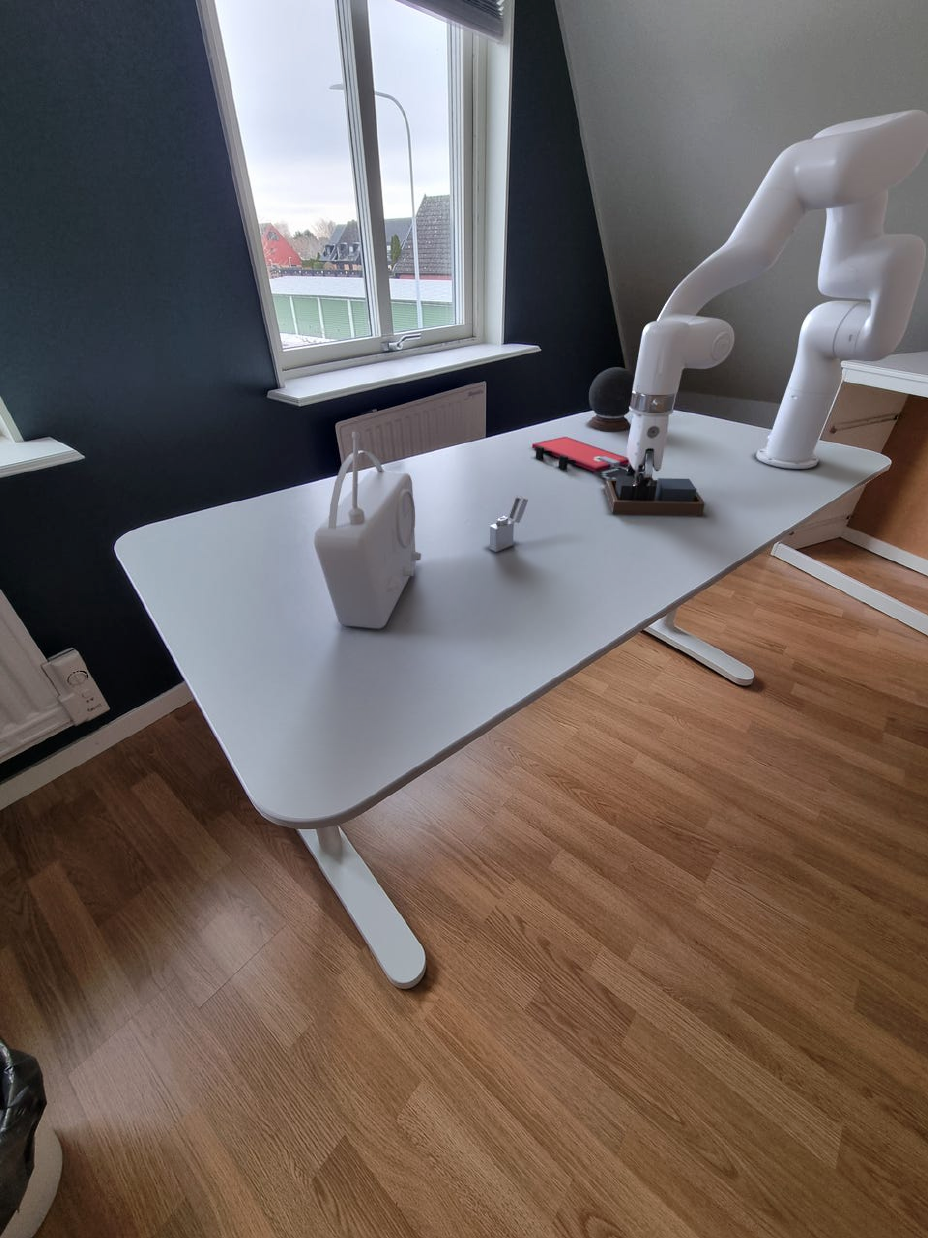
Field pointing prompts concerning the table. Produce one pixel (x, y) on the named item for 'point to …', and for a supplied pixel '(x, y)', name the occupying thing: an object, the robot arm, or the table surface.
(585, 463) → the red board with handle
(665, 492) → the pad
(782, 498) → the table surface
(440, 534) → the table surface
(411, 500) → the radio
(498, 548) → the lighter
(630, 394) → the dark sphere on stand
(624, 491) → the black block
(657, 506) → the brown wooden tray
